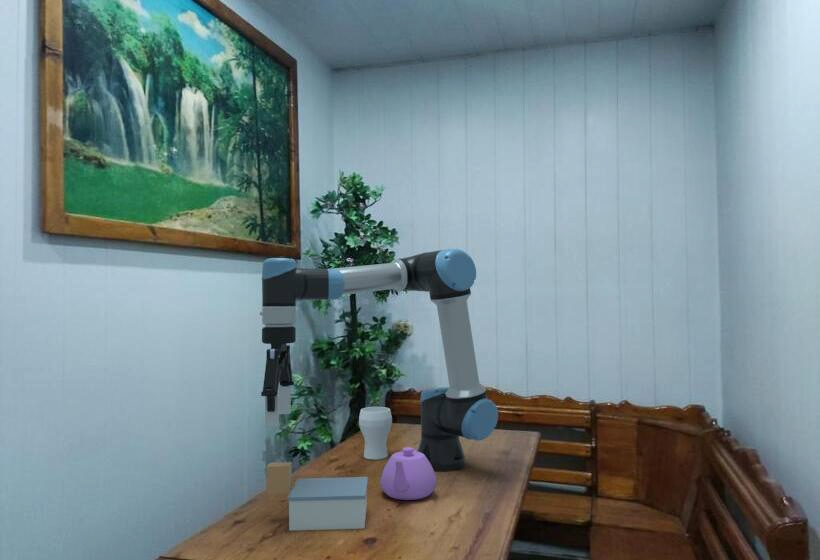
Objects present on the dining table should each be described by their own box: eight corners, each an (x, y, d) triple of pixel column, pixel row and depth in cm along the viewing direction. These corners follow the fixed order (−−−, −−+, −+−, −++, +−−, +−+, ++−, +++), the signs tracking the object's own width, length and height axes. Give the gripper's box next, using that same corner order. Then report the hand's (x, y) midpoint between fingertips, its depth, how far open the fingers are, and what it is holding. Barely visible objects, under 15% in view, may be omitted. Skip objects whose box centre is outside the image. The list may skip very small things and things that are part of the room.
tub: (366, 510, 127) (366, 480, 127) (364, 532, 115) (364, 498, 115) (298, 512, 126) (298, 482, 126) (289, 534, 114) (289, 500, 114)
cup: (387, 461, 166) (387, 413, 167) (355, 460, 168) (354, 412, 169) (395, 452, 177) (395, 406, 177) (364, 451, 179) (364, 405, 180)
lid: (367, 480, 127) (367, 454, 128) (365, 499, 115) (365, 470, 115) (274, 482, 126) (274, 456, 127) (261, 502, 114) (261, 473, 114)
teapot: (426, 515, 124) (425, 461, 124) (368, 510, 127) (367, 458, 128) (442, 486, 143) (442, 440, 143) (392, 483, 146) (391, 438, 147)
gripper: (274, 324, 135) (274, 409, 134) (247, 328, 110) (247, 432, 109) (304, 324, 135) (304, 409, 134) (284, 327, 110) (284, 432, 109)
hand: (278, 420), depth 121 cm, fingers open, 13 cm apart
